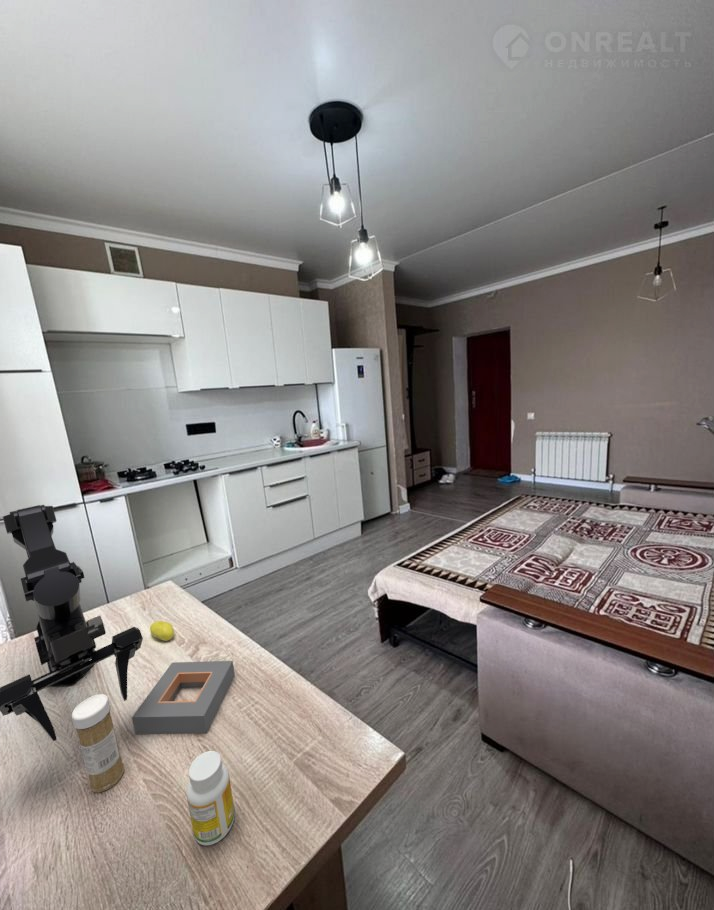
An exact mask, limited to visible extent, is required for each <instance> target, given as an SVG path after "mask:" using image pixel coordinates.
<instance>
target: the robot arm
mask: <svg viewBox="0 0 714 910" xmlns="http://www.w3.org/2000/svg"><path fill="white" fill-rule="evenodd" d="M2 519H3V523H4V527H5V531H6V534H7V535H9V534H11V536H12V541H13V542H14V543H15V544H16V545H18V546H19V547H21V548H22V549H23V550H25V552H26V555H27V559H26V560H25V562H24V563H23V565H22V568H23V571H24V575H25V576H23V577H21V578H20V582H21V586H22V590H23V595H24V599H25V601H26V602H29V601H33V602H34V604H35V609H36V614H37V617H38V622H37V624H36V631H37V632H36V633H37V635H38V636H35V637H33V639H34V643H35V647H36V650H37V654H38V657H39V662H40V665H41V666H43V665H45V664H47V667H48V671H49V672H48V673H45V674H42V675H41V676H39V677H37V678H35V679H32V676H31V674H30V673H29V674H27V675H24V676H22V677H21V678H20V677H19V678H18V679H16V680H14V681H11V682H8V683H7V684H4V685H2V686H0V713H1V715H2V716H6V715H9V714H12V713H14V714H15V716H20V715H22V714H27V716H29V717H30V718H31V719H33V720H34V721H36V722H37V724H39V726H40V727H41V728H42V730H43V731H44V732H45V733H46V734H47V735H48V737H49V738H50V740H52V742H55V741H57V739H58V738H57V734H56V731H55V727H54V725H53V723H52V722H51V721H52V720H50V717H49V715H48V713H47V710H46V708H45V706H44V704H43V701H42V700H41V697H40V695H39V693H38V692H40V691H42V690H44V689H46V688H48V687H57V686H58V687H59V686H60V687H61V686H63V687H65V686H66V687H67V686H74V685H75V684H76V683H77V682H78V681H79V680H80V679H81V678H82V677H83V676H84V675H85V674H86V673H88V671H89V670H90V669H91V668H92V667H93V666H94V665H96V664H97V663H100V662H103V660H106V659H108V658H111V657H112V656H114V657H115V663H114V664H115V665H114V666H115V670H116V676H117V679H118V684H119V690H120V691H119V692H120V694H121V697H122V700H123V702H126V701H127V699H128V668H129V662H130V659H133V658H134V657H135V656H136V655H135V654H136V652H137V651H138V650H140V649H141V648H142V647H141V646H142V643H143V640H144V637H143V635H142V632H141V630H140V629H139V627H136V626H133V627H130V628H128V629H126V630H124V631H122V632H119V633H117V634H115V635H113V636H112V637H111V643H110V644H108V645H105V646H103V647H101V648H99V649H97V650H96V648H97V644H96V641H95V639H97V638H100V637H102V636H104V635H106V633H107V632H106V628H105V625H104V622H103V619H102V616H101V615H97V616H95V617H93V618H90V619H87V620H86V619H85V615H84V613H83V609H82V607H81V588H80V585H81V583H82V581H83V580H82V579H85V575H84V574H85V573H84V571H83V569H82V568H81V567H80V566H78V565H77V564H76V563H75V561H72V562H70V560H69V557H68V554H67V553H66V551H64V550H60V549H57V548H56V546H55V543H54V539H53V534H54V523H56V522H57V518H56V513H55V510H54V506H53V505H47V506H46V505H45V504H41V505H40V504H38V505H33V506H28V507H24V508H20V509H19V508H18V509H17V510H16V509H15V510H11V511H9V514H6V515H4V516H2Z"/></svg>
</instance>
